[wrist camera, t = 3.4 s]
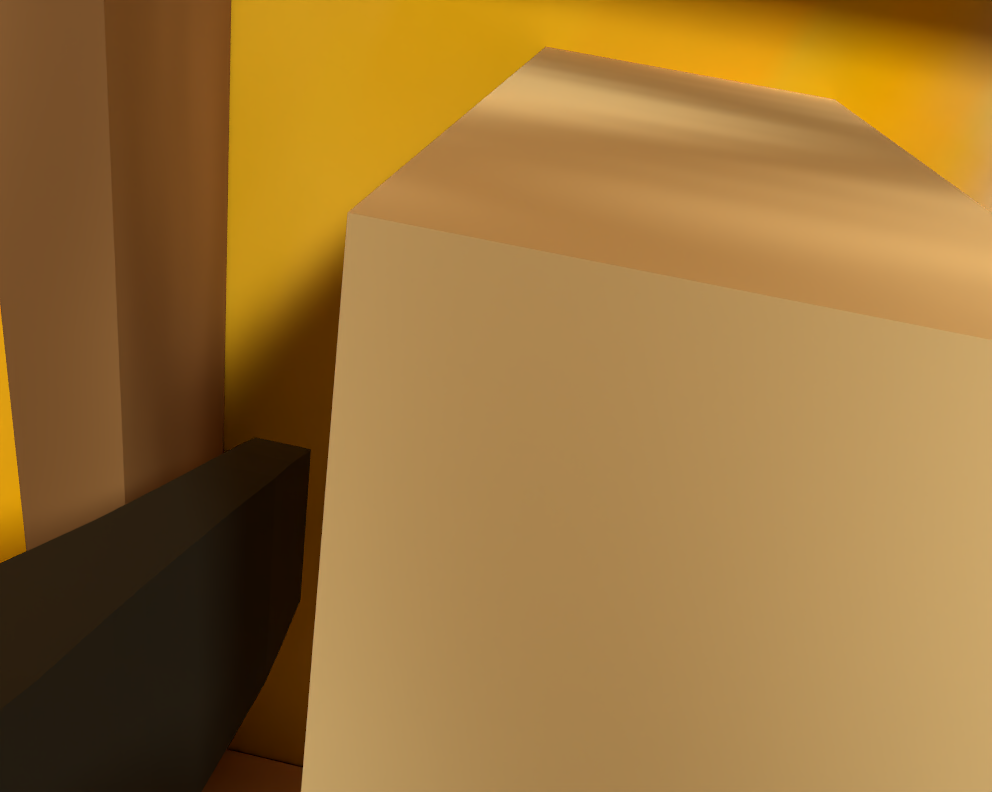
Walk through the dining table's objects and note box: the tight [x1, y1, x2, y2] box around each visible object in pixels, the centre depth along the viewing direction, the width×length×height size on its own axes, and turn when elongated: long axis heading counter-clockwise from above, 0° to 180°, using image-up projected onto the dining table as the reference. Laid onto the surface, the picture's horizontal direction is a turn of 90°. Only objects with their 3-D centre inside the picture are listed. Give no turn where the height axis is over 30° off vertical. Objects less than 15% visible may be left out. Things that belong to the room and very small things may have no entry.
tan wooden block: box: [301, 47, 992, 792], centre depth 8 cm, size 3×10×7 cm, turn 171°
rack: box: [0, 0, 303, 792], centre depth 12 cm, size 11×23×2 cm, turn 171°
